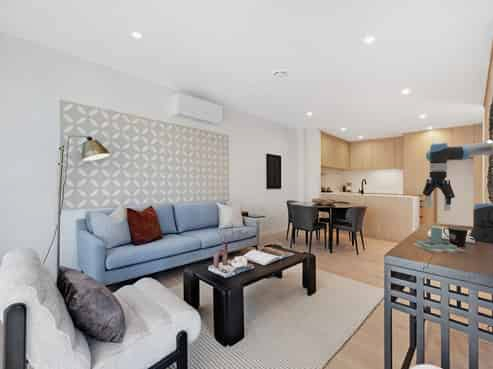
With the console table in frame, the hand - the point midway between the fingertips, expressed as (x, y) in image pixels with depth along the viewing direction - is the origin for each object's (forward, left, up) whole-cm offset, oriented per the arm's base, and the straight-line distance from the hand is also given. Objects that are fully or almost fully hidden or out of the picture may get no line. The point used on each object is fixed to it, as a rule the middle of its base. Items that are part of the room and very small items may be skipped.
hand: (437, 208), depth 135 cm
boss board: (0, +1, -22) cm, 23 cm away
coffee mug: (-16, -6, -23) cm, 28 cm away
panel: (0, 0, -22) cm, 22 cm away
